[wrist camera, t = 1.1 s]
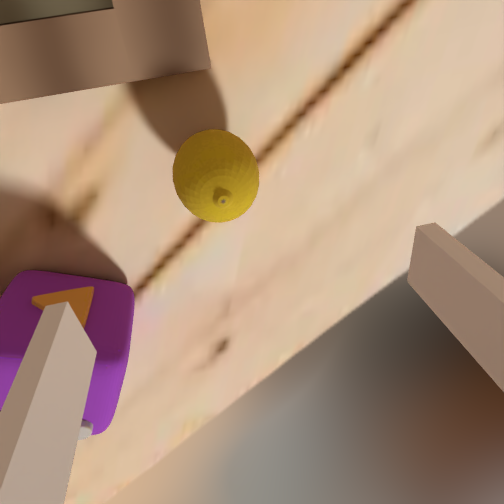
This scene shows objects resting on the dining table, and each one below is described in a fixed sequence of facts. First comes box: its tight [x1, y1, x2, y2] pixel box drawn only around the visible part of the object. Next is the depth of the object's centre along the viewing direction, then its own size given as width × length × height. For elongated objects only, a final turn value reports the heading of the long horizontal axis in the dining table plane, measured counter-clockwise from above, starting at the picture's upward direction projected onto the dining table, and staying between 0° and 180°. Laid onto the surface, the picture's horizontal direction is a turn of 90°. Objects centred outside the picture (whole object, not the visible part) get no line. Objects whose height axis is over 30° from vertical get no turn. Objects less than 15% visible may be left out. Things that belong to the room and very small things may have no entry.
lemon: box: [173, 129, 259, 222], centre depth 23 cm, size 6×6×8 cm
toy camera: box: [0, 270, 134, 440], centre depth 27 cm, size 11×14×10 cm
